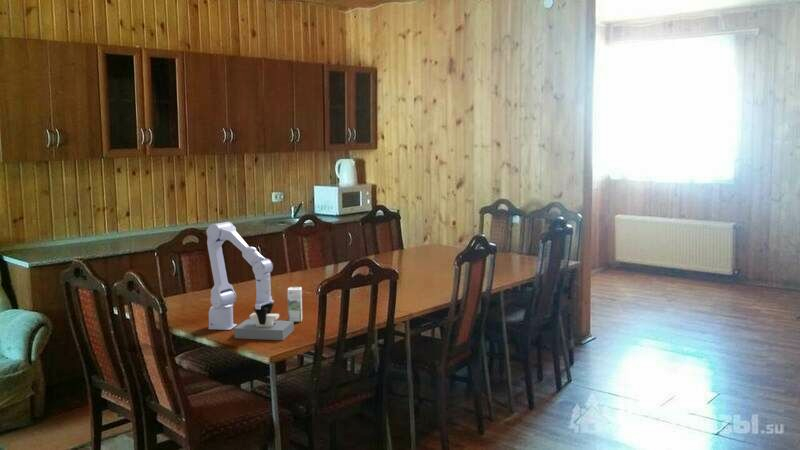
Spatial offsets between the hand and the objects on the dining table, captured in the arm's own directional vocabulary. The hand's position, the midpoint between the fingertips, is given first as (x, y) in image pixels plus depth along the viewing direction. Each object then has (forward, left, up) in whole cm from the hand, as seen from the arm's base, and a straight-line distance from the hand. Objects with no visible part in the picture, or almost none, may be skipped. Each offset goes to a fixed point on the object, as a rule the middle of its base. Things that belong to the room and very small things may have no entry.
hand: (264, 322), depth 292 cm
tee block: (0, 0, -2) cm, 2 cm away
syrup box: (+6, +22, -5) cm, 23 cm away
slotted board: (0, 0, -5) cm, 5 cm away
